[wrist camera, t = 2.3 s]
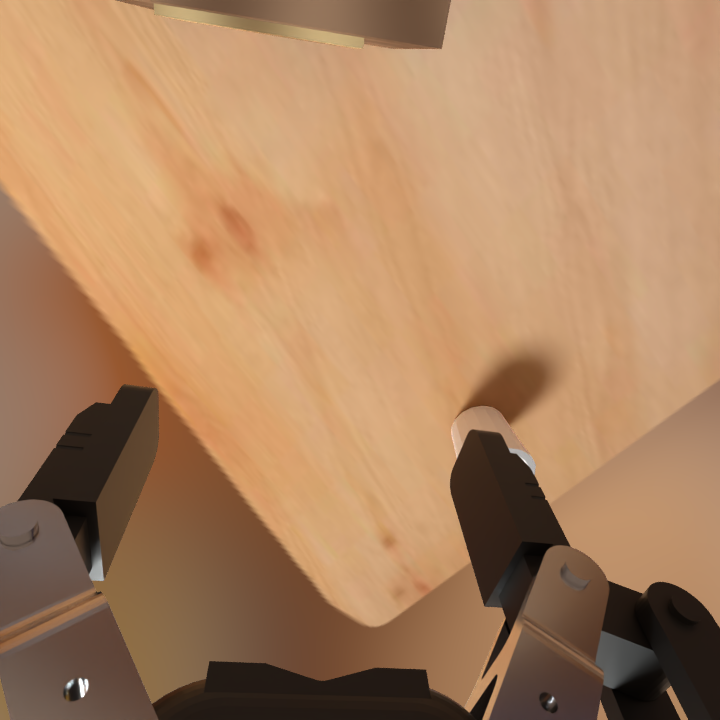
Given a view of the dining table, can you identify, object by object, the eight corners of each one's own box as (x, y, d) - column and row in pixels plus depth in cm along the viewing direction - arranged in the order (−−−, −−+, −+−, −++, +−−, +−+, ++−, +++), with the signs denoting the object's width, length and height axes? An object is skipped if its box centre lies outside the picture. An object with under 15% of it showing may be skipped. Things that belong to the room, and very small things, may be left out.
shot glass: (453, 458, 53) (471, 510, 47) (438, 413, 49) (455, 462, 43) (514, 439, 52) (540, 489, 46) (504, 392, 48) (531, 439, 42)
